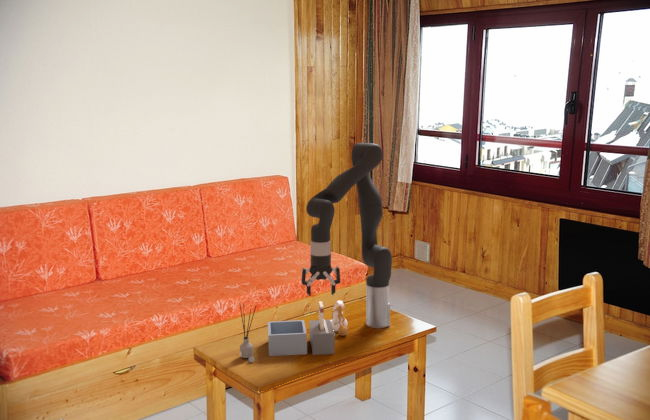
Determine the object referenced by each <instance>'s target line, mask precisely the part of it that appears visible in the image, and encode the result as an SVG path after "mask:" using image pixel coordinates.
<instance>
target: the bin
mask: <svg viewBox="0 0 650 420" xmlns="http://www.w3.org/2000/svg"><path fill="white" fill-rule="evenodd" d="M267 333H268V334H267V339H268V340H267V341H268V356H269V357H275V356H276V357H278V356H299V355H307V354H308V333H307V328H306V323H305V319H300V320H299V319H297V320H295V319H294V320H278V321H275V320H274V321H267Z"/></svg>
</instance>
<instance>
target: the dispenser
mask: <svg viewBox="0 0 650 420" xmlns="http://www.w3.org/2000/svg"><path fill="white" fill-rule="evenodd" d="M330 320H331V319H325V318H324V330H319V319H317V320H309V321H308V323H309V342H310V349H311V352H312V353H311V354H312V356H317V355H319V356H321V355H335V332H334V331H333V328H332V324H331V321H330Z"/></svg>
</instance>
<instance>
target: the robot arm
mask: <svg viewBox="0 0 650 420" xmlns="http://www.w3.org/2000/svg"><path fill="white" fill-rule="evenodd" d="M383 152H384V151H383V149H382V147H381V146H380V144H376V143H372V142H371V143H370V142H369V143H368V142H357V143H355V144H354V145H353V147H352V149H351V162H352V167H350V168H348V169H347V170H345V171H343V172H341V173H340V174H339V175H337V176H335V178H333V180H332V181H331V182H330V183H329V184H328V185H327V186H326V187H325V188H324V189H322V190H321V191H319V192H318V193H316V194H315V195H313V196H312V197H311V198H310V199H309V200H308V201H307V204H306V208H305V209H306V213H307V215H309V216H310V217H312V218H316V219H319V220H318V223H315V224H313V225H312V226H311V227H310V246H309V247H310V249H309V250H310V267H309V268H308V267H307V268H305V267H302V269H301V285H302V286H306V294H307V295H308V296H310V297H311V295H312V294H311V293H312V292H311V291H312V289H311V285H312V283H314V282H315V280H316V281H319V280H325V281H326V280H328V282H330V286H331V288H330V293H331V295H332V296H334V294H336V286H337V285H339V284H341V273H340V270H341V269H340V267H339V266H338V265H337V266H335V267H332V246H331V245H332V244H331V227H332V224H333V220H334V216H335V206H334V204H337V203H339V202H340V201H341V200H342V199H343V198H344V197H346V194H347V193H348V192H349V191H350V190H351V189H352V188H353V187H354V186H355V185H356V190H357V191H356V192H357V198H358V210H359V212H358V213H359V216H360V217H359V218H360V228H361V258H362V261H363V263H364V264H365V265H366V267H367V266H368V267H371V268H373V274H370V275H368V276H367V277H366V281H365V283H366V284H365V285H366V286H365V287H366V289H365V290H366V293H365V296H366V297H365V298H366V299H365V300H366V301H365V302H366V303H365V304H366V305H365V309H366V310H365V312H366V313H365V314H366V315H365V321H366V322H365V324H366V326H367V327H369V328H372V329H383V328H386V327H391V304H390V280H391V276H392V266H393V265H392V263H393V258H392V257H393V256H392V252H391V250H390V249H389V248H388V247H385V246H381V245H379V244H378V243H379V242H378V236H377V232H378V228H379V225H380V224H381V221H382V219H383V215H384V212H383V211H384V210H383V200H382V196H381V194H380V192H379V190H378V188H377V187H376V185H375V183H374V182H373V180H372V177H371V174H370V173H371V171H373V170H374V169H376V168H377V167H378V166H379V165H380V164H381V162H382V160H383V157H384V153H383ZM332 272H333V273H334V274H335V279H333V277H332V276H331V273H332ZM308 273H309V274H310V276H309V279H308V280H306V277H307V276H306V275H308Z"/></svg>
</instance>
